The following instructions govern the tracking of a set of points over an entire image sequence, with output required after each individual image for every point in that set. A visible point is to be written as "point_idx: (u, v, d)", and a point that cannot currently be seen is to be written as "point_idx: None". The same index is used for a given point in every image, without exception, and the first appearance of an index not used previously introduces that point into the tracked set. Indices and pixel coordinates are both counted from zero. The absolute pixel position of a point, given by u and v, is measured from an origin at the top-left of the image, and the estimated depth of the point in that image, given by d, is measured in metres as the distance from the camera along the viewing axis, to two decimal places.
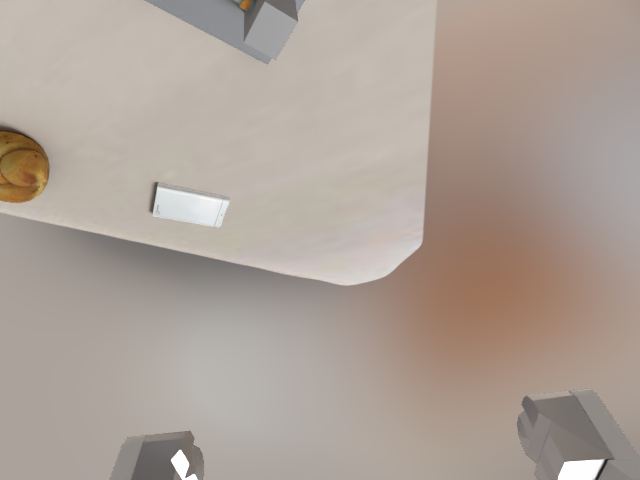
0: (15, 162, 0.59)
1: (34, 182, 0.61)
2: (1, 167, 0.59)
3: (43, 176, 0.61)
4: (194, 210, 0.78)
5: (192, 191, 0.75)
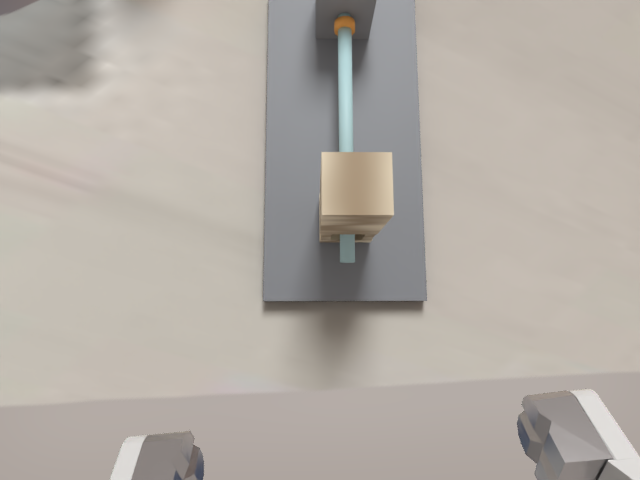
0: None
1: None
2: None
3: None
4: None
5: None
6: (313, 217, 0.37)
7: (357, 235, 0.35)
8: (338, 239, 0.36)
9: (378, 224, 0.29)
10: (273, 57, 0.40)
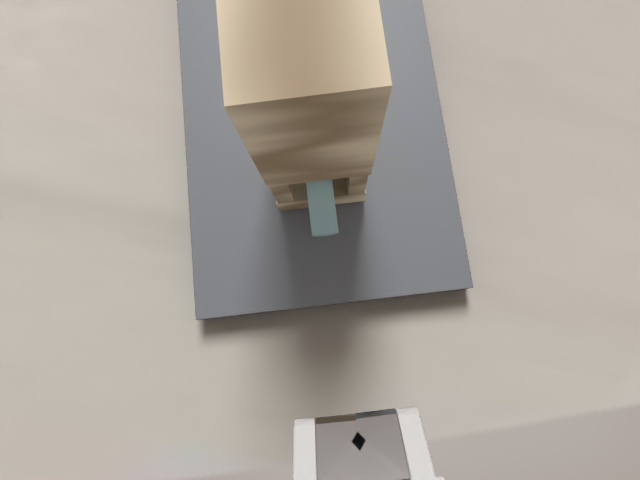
0: None
1: None
2: None
3: None
4: None
5: None
6: None
7: (339, 188, 0.21)
8: None
9: (365, 136, 0.14)
10: None
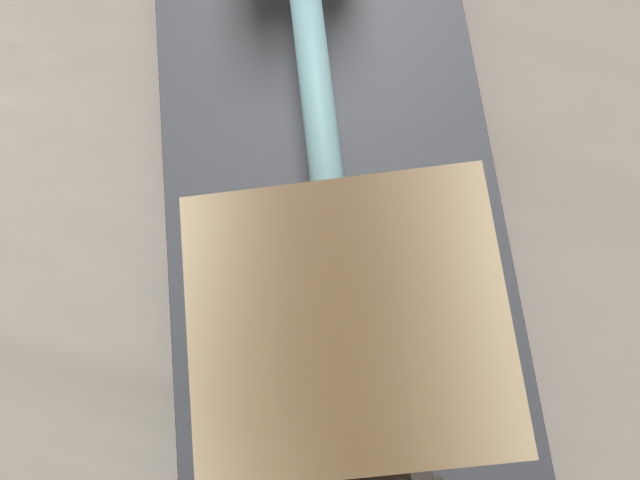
0: None
1: None
2: None
3: None
4: None
5: None
6: None
7: None
8: None
9: None
10: (167, 8, 0.20)
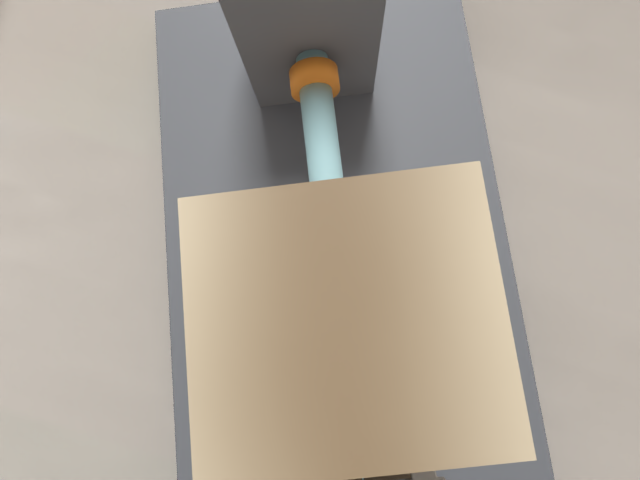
0: None
1: None
2: None
3: None
4: None
5: None
6: None
7: None
8: None
9: None
10: (174, 160, 0.19)
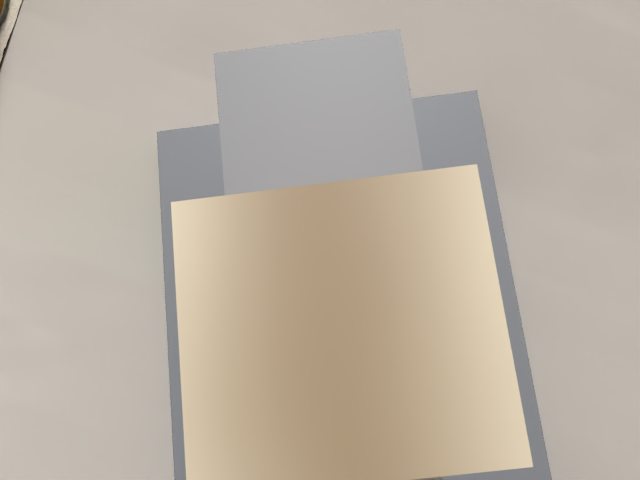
0: None
1: None
2: None
3: None
4: None
5: None
6: None
7: None
8: None
9: None
10: None
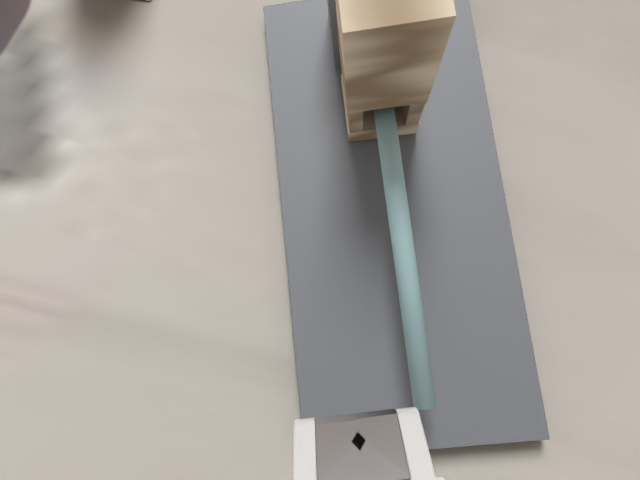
0: None
1: None
2: None
3: None
4: None
5: None
6: (362, 326, 0.26)
7: (398, 120, 0.26)
8: (373, 129, 0.26)
9: (430, 62, 0.19)
10: (280, 103, 0.29)
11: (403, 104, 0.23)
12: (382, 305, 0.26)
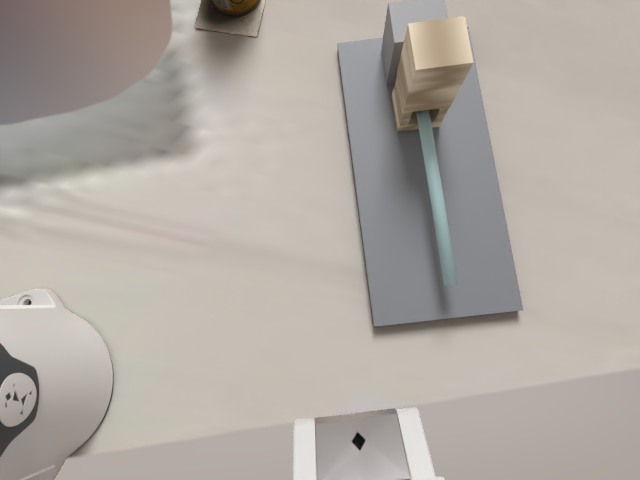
0: None
1: None
2: None
3: None
4: None
5: None
6: (408, 246, 0.42)
7: None
8: (414, 123, 0.42)
9: (456, 84, 0.35)
10: (351, 106, 0.44)
11: (436, 108, 0.39)
12: (420, 233, 0.42)
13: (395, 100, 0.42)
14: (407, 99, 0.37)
